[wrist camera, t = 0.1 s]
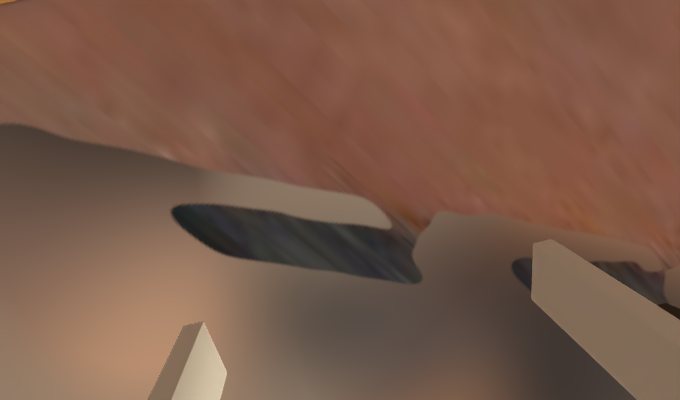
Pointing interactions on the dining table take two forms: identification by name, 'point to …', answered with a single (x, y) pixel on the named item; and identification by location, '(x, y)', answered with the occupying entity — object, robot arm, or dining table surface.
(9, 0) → the gate
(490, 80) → the dining table surface
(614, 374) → the robot arm
